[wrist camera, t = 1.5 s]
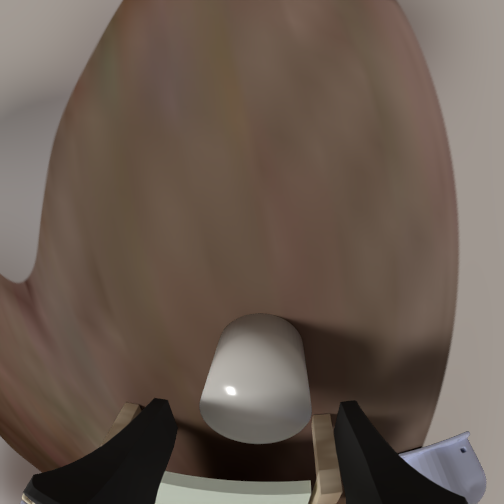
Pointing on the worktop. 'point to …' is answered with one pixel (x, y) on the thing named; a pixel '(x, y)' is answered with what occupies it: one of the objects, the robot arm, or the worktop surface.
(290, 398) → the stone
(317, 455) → the frame
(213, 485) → the trapdoor
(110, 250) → the worktop surface
